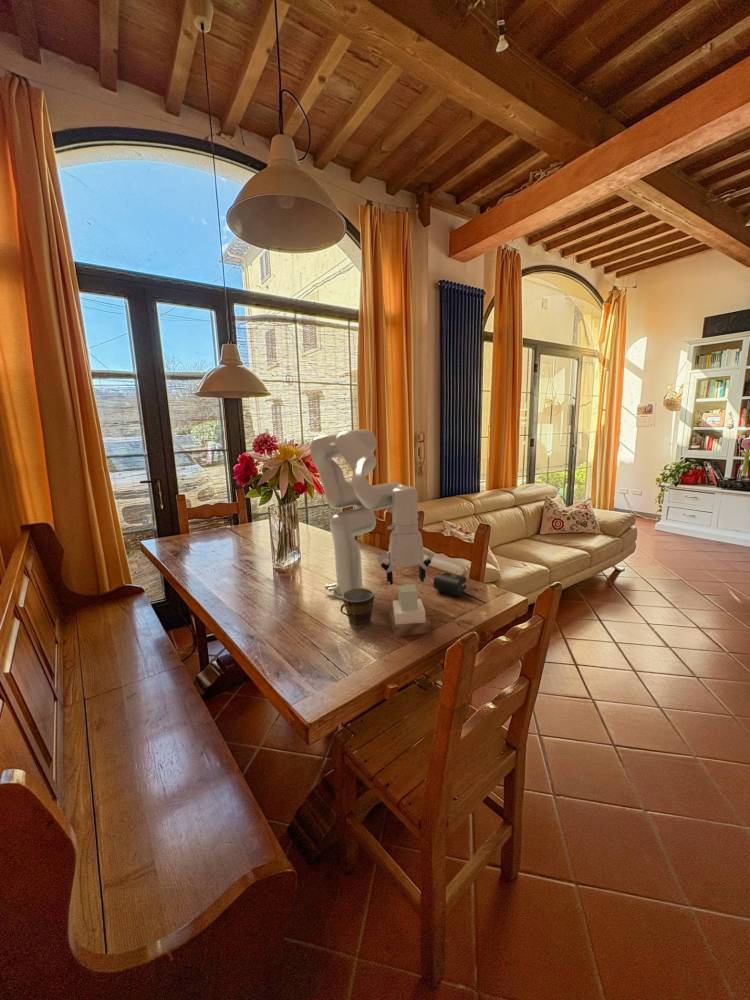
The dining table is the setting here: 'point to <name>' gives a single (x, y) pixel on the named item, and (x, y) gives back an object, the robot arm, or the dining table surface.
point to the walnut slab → (409, 626)
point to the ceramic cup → (358, 607)
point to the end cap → (450, 584)
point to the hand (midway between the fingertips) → (406, 581)
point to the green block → (408, 597)
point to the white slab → (408, 614)
